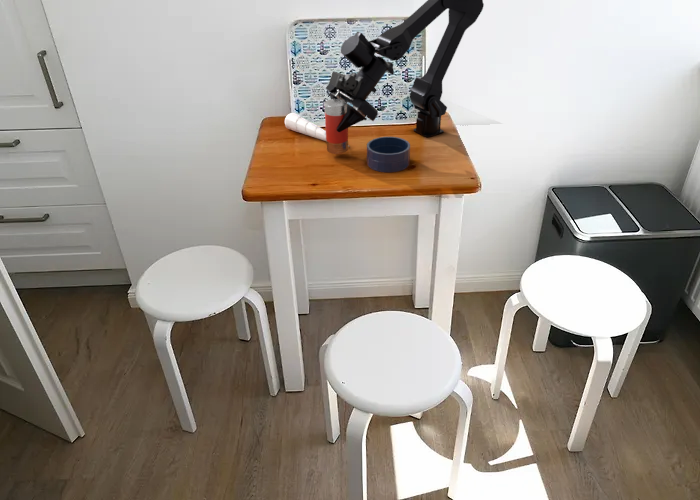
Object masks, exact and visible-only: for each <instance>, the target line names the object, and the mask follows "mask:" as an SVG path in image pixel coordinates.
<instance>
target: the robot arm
mask: <svg viewBox="0 0 700 500" xmlns="http://www.w3.org/2000/svg"><path fill="white" fill-rule="evenodd" d="M484 6H485V4H484V0H426V1H425V2H424V3H423V4H422V5H421V6H419V7H418V8H417V9H416V10H415V11H414V12H413V13H412V14H411V15H410V16H409V17H407V18H406V19H405V20H404V21H403V22H401V23H400V24H399V25H397V26H394V27H391V28H389V29H387V30H385V31H384V32H382V33H381V34H379V35H378V37H376V38H374V39H372V40H371V39H370V40H368V38H366V36H365V35H364V34H363V33H362V32H361V31H356V32H355V34H353V35H351V36H349V37H348V38H347V39H345V40H344V41H343V42H342V44H341V47H340V53H341V54H342V56H343V57H345V58H346V59H347V60H348V62H350V63H351V64H352V65H353V66H354V67H355V68H358V69H359V71H358V72H357V73H356V72H352V73H351V74H349V73H347V74H344V73H340V72H337V71H335V70H334V71H332V73H331V76H330V79H329V82H328V83H327V86H326V87H325V89H326V90H327V91H328V94H329V95H328V96H330V100H331V99H343V100H345V101H347V112H346V114H345V116H344V117H343V119H342V120H341V122H340V124H339V125H338V127H337V129H336V130H337V131H338V132H341V131H343V130H345V129H347V128H348V129H349V128H351V127H352V126H354V125H356V124H358V123H360V122H363V121H367V120H368V119H369V120H370V121H372V122H374V121H375V120H376V118H377V117H378V115H379V114H378V113H379V112H378V109H377V108H376V107H374V105H372V104H371V103H370V102H369V101H368V100H367V99H368V97H369V96H370V95H371V93H374V94H375V93H376V92H377V91H378V89H376V86H377V85H378V84H379V83H380V81H381V79H382V78H383V77H384V75H385V74H386V73H388V74H390V75H391V76H393V75H394V74H395V71H394V63H392V62H391V61H396V62H397V61H399V60H401V59H402V58H403V57H404V56H405V54H407V52H408V51H409V49H410V48H411V46H412V43H413V41H414V40H415V38H416V37H417V36H418V35H420V34H421V33H422V32H423V31H424V30H425V29H426V28H427V27H428V26H430V25H431V24H432V23H433V22H435V20H436V19H437V18H438V17H439V16H441V15H442V14H443V13H444V12H445V11H446V10H447V9H448V22H447V23H448V24H447V26H446V28H445V30H444V33H443V34H442V37H441V39H440V42H439V44H438V46H437V48H436V50H435V53H434V54H433V57H432V59H431V62H430V64H429V66H428V68H427V71H426V73H425V74H424V75H423V76H422V77H418V76H416V77H415V78H414V80H413V84H412V86H411V88H410V89H409V91H410V93H409V99H410V102H411V104H412V105H413V108H414V110H417V117H416V119H415V120H416V122H415V128H413V132H415V133H417V134H419V135H421V136H423V137H424V138H431V137H434V136H437V135H440V134H444V132H445V131H444V130H443V129H441V123H442V116H444V115H446V113H447V111H448V106H447V105H445V103H444V102H443V101H442V100H441V99H442V95H443V81H444V78H445V76H446V73H447V72H448V69H449V67H450V65H451V63H452V61H453V58H454V57H455V54H456V52H457V50H458V47H459V45H460V43H461V41H462V39H463V37H464V35H465V32H466V31H467V29H469V28H470V27H472V25H474V23H476V21H477V20H478V18H479V16H480V15H481V14H482V11H483V9H484ZM376 54H377V55H378V56H376ZM384 58H386V59H388V60H390V61H386V60H385V59H384Z"/></svg>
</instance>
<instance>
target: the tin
mask: <svg viewBox="0 0 700 500" xmlns="http://www.w3.org/2000/svg"><path fill="white" fill-rule="evenodd" d="M347 104H348V102H347V101H345V100H343V99H331V98H330V99H327V100H325V101H324V105H323V106H324V123H325V131H326V141H325V142H326V151H327V152H328V153H329V154H332V155H341V154H344V153H347V152H348V151H349V147H348V145H349V127H348V128H347V129H345V130H343V131H341V132H338V131H337V130H336V129H337V127H338V125H339V124H340V122H341V120H342V119H343V117H344V116H345V114H346V112H347Z"/></svg>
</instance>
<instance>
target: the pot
mask: <svg viewBox="0 0 700 500" xmlns="http://www.w3.org/2000/svg"><path fill="white" fill-rule="evenodd" d="M410 162H411V143H410V142H409V141H408V140H407V139H405V138H402V137H397V136H380V137H379V136H378V137H375V138H373V139H371V140H369V141H367V143H366V165H367V167H368V168H370V169H371V170H373V171H376V172H381V173H396V172H397V173H398V172H400V171H404V170H406V169H407V168H409V166H410Z"/></svg>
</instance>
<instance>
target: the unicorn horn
mask: <svg viewBox="0 0 700 500" xmlns="http://www.w3.org/2000/svg"><path fill="white" fill-rule="evenodd" d="M284 126H285V128H286V129H287V130H290V131H293V132H297V133H299V134H303V135H306V136H309V137H311V138H314V139H318V140H321V141H324V142H327V141H326V129H323V128H322V127H320V126H318V125H316V124H315V123H313V122H312V121H310V120H308V119H306V118H304V117H302V116H301V115H299V114H297V113H295V112H290V113H288V114H287V115H286V117H285V118H284ZM349 147H350V145H349V144H348V148H349Z"/></svg>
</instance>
